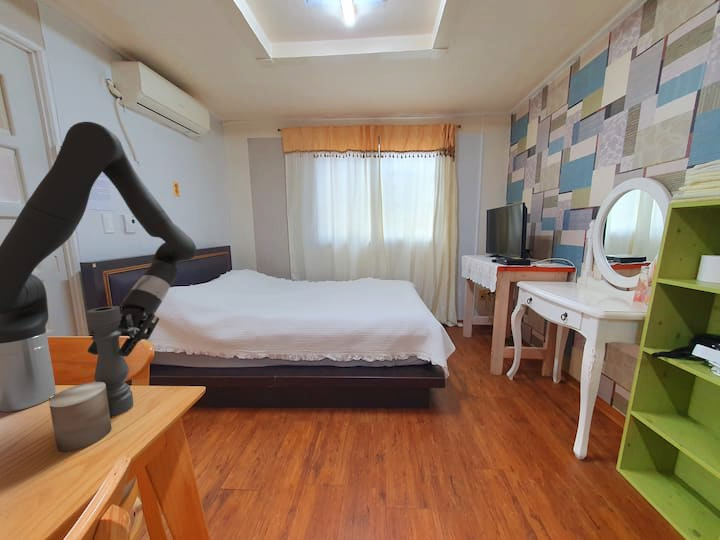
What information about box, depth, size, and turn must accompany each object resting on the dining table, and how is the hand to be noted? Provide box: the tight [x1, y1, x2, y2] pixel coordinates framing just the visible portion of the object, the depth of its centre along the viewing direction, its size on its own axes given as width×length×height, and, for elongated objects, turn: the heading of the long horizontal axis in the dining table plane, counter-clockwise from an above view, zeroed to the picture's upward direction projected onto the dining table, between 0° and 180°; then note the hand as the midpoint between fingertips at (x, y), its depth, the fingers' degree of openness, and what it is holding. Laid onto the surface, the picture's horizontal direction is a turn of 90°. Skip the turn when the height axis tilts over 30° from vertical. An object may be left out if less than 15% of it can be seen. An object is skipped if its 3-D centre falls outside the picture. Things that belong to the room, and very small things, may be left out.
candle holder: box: [85, 305, 134, 418], centre depth 64 cm, size 6×6×25 cm
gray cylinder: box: [48, 381, 112, 453], centre depth 56 cm, size 8×8×10 cm
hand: (107, 354), depth 63 cm, fingers open, 8 cm apart
